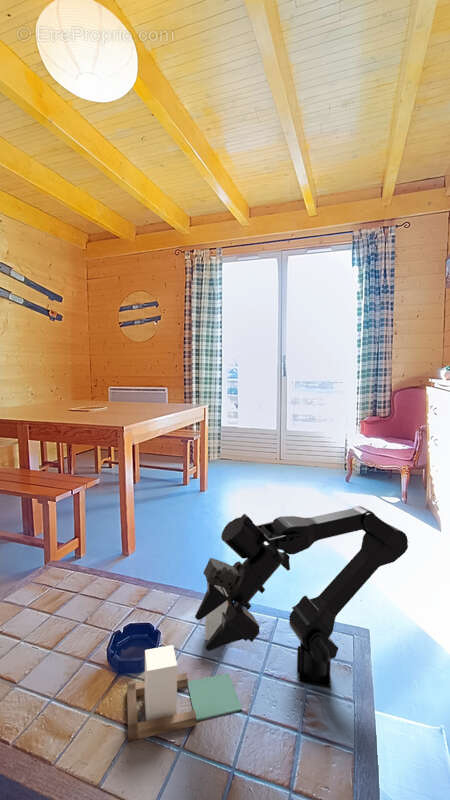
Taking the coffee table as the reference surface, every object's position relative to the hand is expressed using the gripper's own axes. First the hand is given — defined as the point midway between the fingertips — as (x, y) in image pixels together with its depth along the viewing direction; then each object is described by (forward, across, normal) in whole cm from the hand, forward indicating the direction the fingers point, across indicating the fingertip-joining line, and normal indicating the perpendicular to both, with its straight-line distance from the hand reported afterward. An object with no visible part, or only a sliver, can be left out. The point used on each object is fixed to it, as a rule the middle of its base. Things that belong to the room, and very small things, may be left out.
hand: (201, 633), depth 72 cm
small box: (+3, -18, +16) cm, 25 cm away
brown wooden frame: (+15, 0, +4) cm, 15 cm away
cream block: (+15, 0, +4) cm, 15 cm away
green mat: (+8, 0, +11) cm, 14 cm away
